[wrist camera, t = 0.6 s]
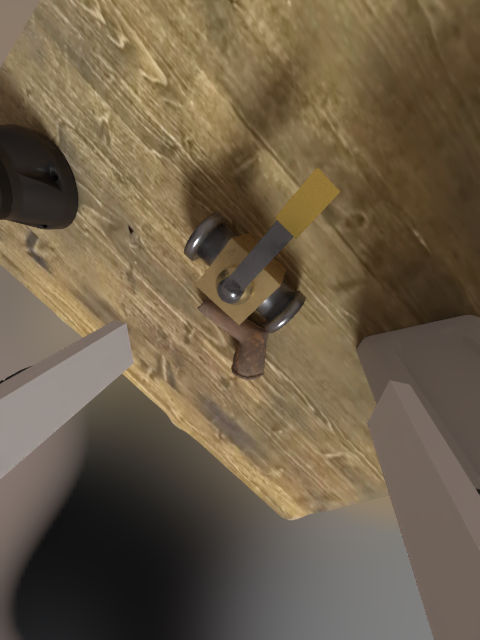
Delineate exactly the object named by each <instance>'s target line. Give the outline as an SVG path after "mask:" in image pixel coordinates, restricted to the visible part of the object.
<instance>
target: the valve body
mask: <svg viewBox="0 0 480 640" xmlns="http://www.w3.org/2000/svg"><path fill="white" fill-rule="evenodd" d="M257 244H258V241H257V240H256V239H255V238H254V237H253V236H252V235H251V234H250V233H247V234H244V235H240V236H236V235H235V234H234V233H233V232H232V231H231V230H230V229H229V228H228V227H227V226H226V219H225V218H224V217H223V216H222V215H221V214H220V213H219V212H216V213H213V214H211V215H210V216H209V217H207V218H206V219H205V220H204V221H203V222H202V223H201V224H200V225H199V226H198V227H197V228H196V230H195V231H194V232H193V234H192V235H191V236H190V238H189V240H188V242H187V244H186V246H185V249H184V254H185V255H186V256H187V257H188V258H189V259H191V260H192V261H194V260H197V259H198V258H201V259H202V260H203V261H204V262H205V263H206V264H207V265H208V266H209V268H208V269H207V271H206V272H205V273H204V275H203V276H202V277H201V279H200V280H199V281H198V283H197V284H196V286H197V287H198V288H199V289H200V290H201V291H202V292H203V293H204V294H205V295H207V296H208V297H209V298H210V299H211V300H212V301H213V302H214V303H215V304H216V305H217V306H219V307H220V308H221V309H222V310H223V311H224V312H225V313H226V314H227V315H228V316H230V317H231V318H232V319H233V320H234V321H235V322H236V323H237V324H238V325H240V324H241V323H242V322H243V321H244V320H245V319H246V318H247V317H248V316H249V315H250V314H251V313H252V312H253V311H254V310H256V311H258V312H259V313H260V314H261V315H262V316H263V317H264V318H265V319H266V321H265V322H264V325H263V327H264V328H265V329H266V330H267V331H268V332H269V333H273V332H275V331H277V330H279V329H280V328H281V327H283V326H284V325H285V324H286V323H287V322H289V321H290V320H291V319H292V318H293V317H294V316H295V314H296V313H297V312H298V311H299V310H300V308H301V307H302V305H303V304H304V302H305V299H306V297H305V296H304V295H303V294H302V293H301V292H300V291H299V290H298V291H295V292H294V291H293V290H292V289H291V288H290V287H289V286H288V285H287V284H286V283H285V282H284V281H283V278H284V275H285V272H286V268H285V267H284V266H283V265H282V264H281V263H279V262H278V261H277V260H276V259H275V258H273V259H272V260H271V261H270V262H269V263H268V265H267V266H266V267H265V268H264V269H263V270H262V271H261V272H260V273H259V274H258V275H257V276H256V277H255V278H254V279H253V281H252V282H251V283H250V284H249V285H248V286H247V287H246V288H245V292H244V294H243V296H242V297H241V298H240V299H239V301H237V302H236V303H232V304H229V303H226V302H224V301H222V300H221V299H220V297H219V295H218V293H217V287H218V285H219V283H220V282H221V281H222V280H223V279H225V278H226V277H228V276H230V275H231V274H232V273H233V272H234V271H235V269H236V268H237V267H238V266H239V265H240V264H241V262H242V261H243V260H244V259H245V258H246V256H247V255H248V254H249V253H250V252H251V251H252V249H253V248H254V247H255V246H256V245H257Z"/></svg>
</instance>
